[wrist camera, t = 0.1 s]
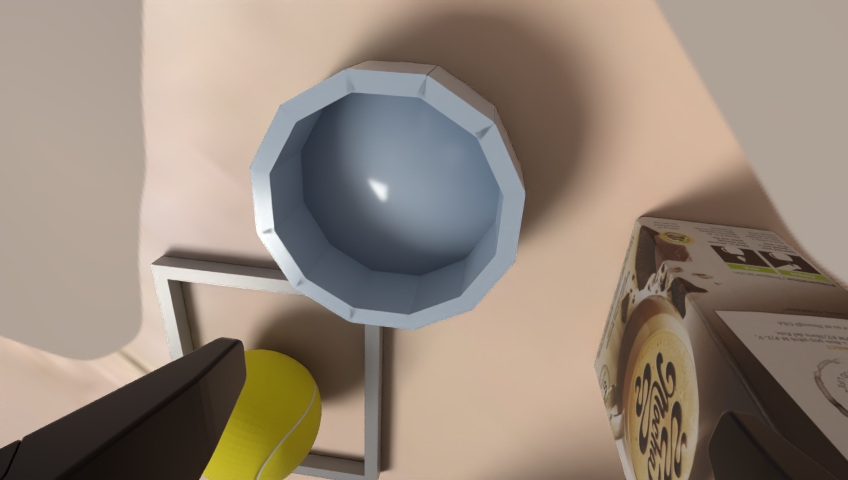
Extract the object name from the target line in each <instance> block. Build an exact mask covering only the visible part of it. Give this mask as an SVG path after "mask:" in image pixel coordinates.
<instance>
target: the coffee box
mask: <svg viewBox="0 0 848 480" xmlns="http://www.w3.org/2000/svg"><path fill="white" fill-rule="evenodd" d="M594 367H595V371H596V375H597V378H598V381H599V385H600V389H601V393H602V396H603V400H604V403H605V407H606V410H607V414H608V417H609V421H610V425H611V428H612V431H613V435H614V438H615V442H616V446H617V449H618V452H619V456H620V459H621V463H622V466H623V470H624V473H625V477H626V480H715V479H714V476H713V472H712V468H711V464H710V460H709V456H708V443H709V440H710V438H711V436H712V433H713V431H714V429H715V427H716V425H717V422H718V420H719V418H720V416H721V414H722V413H723V412H724V411H726V410H733V411H740V412H747V413H750V414H753V415H754V416H755V417H757V418H758V419H759V420H761V421H762V422H763V423H765V424H766V425H767V426H769V427H770V428H771V429H773V430H774V431H775V432H777V433H778V434H779V435H780V436H782V437H783V438H784V439H786V440H787V441H788V442H790V443H791V444H792V445H794V446H795V447H796V448H798V449H799V450H800V451H802V452H803V453H804V454H805V455H807V456H808V457H809V458H811V459H812V460H813V461H815V462H816V463H817V464H819V465H820V466H821V467H823V468H824V469H825V470H827V471H828V472H829V473H830V474H832V475H833V476H834V477H836V478H837V479H838V480H848V291H846V290H845V289H844V288H842V287H841V286H840V285H839V284H838V283H837V282H835V281H834V280H833V279H832V278H831V277H829V276H828V275H827V274H826V273H824V272H823V271H822V270H820V269H819V268H818V267H817V266H815V265H814V264H813V263H812V262H811V261H809V260H808V259H807V258H805V257H804V256H803V255H802V254H801V253H800V252H798V251H797V250H796V249H795V248H793V247H792V246H791V245H790V244H788V243H787V242H786V241H785V240H784V239H783V238H782V237H780V236H779V235H778V234H776V233H775V232H773V231H765V230H757V229H749V228H740V227H732V226H724V225H715V224H706V223H698V222H689V221H681V220H672V219H663V218H653V217H641V218H639V219H638V220H637V221H636V223H635V226H634V229H633V232H632V236H631V239H630V243H629V246H628V250H627V253H626V257H625V260H624V263H623V267H622V271H621V274H620V278H619V281H618V285H617V288H616V291H615V295H614V298H613V302H612V305H611V309H610V312H609V316H608V319H607V322H606V326H605V329H604V333H603V336H602V339H601V343H600V346H599V350H598V353H597V357H596V360H595V364H594Z"/></svg>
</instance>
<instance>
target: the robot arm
mask: <svg viewBox="0 0 848 480" xmlns="http://www.w3.org/2000/svg"><path fill="white" fill-rule="evenodd" d="M246 377H247V370H246V362H245V353H244V346H243V343H242V341H240V340H238V339H232V338H225V337H221V338H218V339H216V340H214V341H212V342H210V343H208V344H206V345H204V346H202V347H200V348H198V349H196V350H194V351H192V352H190V353H188V354H186V355H184V356H182V357H180V358H178V359H176V360H174V361H172V362H170V363H168V364H166V365H165V366H163V367H161V368H159V369H157V370H155V371H153V372H151V373H149V374H147V375H145V376H143V377H141V378H139V379H137V380H135V381H133V382H131V383H129V384H127V385H125V386H123V387H121V388H119V389H117V390H115V391H113V392H111V393H109V394H107V395H105V396H103V397H102V398H100V399H98V400H96V401H94V402H92V403H90V404H88V405H86V406H84V407H82V408H80V409H78V410H76V411H74V412H72V413H70V414H68V415H66V416H64V417H62V418H60V419H58V420H56V421H54V422H52V423H50V424H48V425H46V426H44V427H42V428H40V429H38V430H36V431H34V432H32V433H30V434H29V435H27V436H25V437H23V439H22V441H20V440H17V441H15V442H13V443H11V444H9V445H7V446H5V447H3V448H1V449H0V480H199V479H200V477H201V475H202V474H203V472H204V470H205V469H206V467H207V465H208V463H209V461H210V459H211V458H212V456H213V454H214V452H215V449H216V447H217V445H218V443H219V441H220V439H221V436H222V434H223V432H224V430H225V427H226V425H227V423H228V421H229V418H230V416H231V414H232V412H233V409H234V407H235V405H236V403H237V400H238V398H239V396H240V394H241V392H242V389H243V387H244V385H245V382H246ZM708 456H709V460H710V464H711V468H712V472H713V476H714V479H715V480H838V479H837V478H836V477H834V476H833V475H832V474H830V473H829V472H828V471H827V470H825V469H824V468H823V467H821V466H820V465H819V464H817V463H816V462H815V461H813V460H812V459H811V458H809V457H808V456H807V455H805V454H804V453H803V452H802V451H800V450H799V449H798V448H796V447H795V446H794V445H792V444H791V443H790V442H788V441H787V440H786V439H784V438H783V437H782V436H780V435H779V434H778V433H777V432H775V431H774V430H773V429H771V428H770V427H769V426H767V425H766V424H765V423H763V422H762V421H761V420H759V419H758V418H757V417H755V416H754V415H753V414H750V413H747V412H740V411H733V410H726V411H724V412H723V413H722V414H721V416H720V418H719V420H718V422H717V425H716V427H715V429H714V431H713V433H712V436H711V438H710V440H709V443H708Z"/></svg>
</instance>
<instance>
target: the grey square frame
mask: <svg viewBox="0 0 848 480" xmlns="http://www.w3.org/2000/svg"><path fill="white" fill-rule="evenodd" d="M151 269H152V273H153V278H154V282H155V287H156V291H157V296H158V301H159V305H160V310H161V314H162V319H163V323H164V328H165V332H166V337H167V341H168V346H169V350H170V355H171V359H172V361H174V360H176V359H178V358H180V357H182V356H184V355H186V354H188V353H190V352H192V351H194V350H193V345H192V340H191V335H190V329H189V324H188V319H187V314H186V309H185V304H184V298H183V293H182V288H181V283H180V281H187V282H196V283H204V284H212V285H220V286H229V287H237V288H245V289H253V290H262V291H270V292H278V293H286V294H295V295H303V296H306V295H304V294H303V293H301V292H299V291H298V290H296V289H294V288H295V287H294V288H293V286H292V285H291V283H290V282H289V280H288V279H287V277H286V276H285V274H284V273H283V271H282V270H277V269H269V268H260V267H252V266H243V265H234V264H226V263H217V262H209V261H200V260H192V259H183V258H174V257H166V256H162V257H160V258H159V259H157V260H156V261H155V262H153V263H152V264H151ZM382 355H383V326H377V325H369V324H365V462H359V461H352V460H346V459H339V458H333V457H326V456H320V455H313V454H307V456H306V457H305V459H304V460H303V461H302V463H301V464H300V465H299V466H298V467H297V468H296V469H295V470H294V471H293V472H292V473H295V474H302V475H308V476H314V477H320V478H327V479H333V480H378V479H379V475H380V448H381V402H382Z"/></svg>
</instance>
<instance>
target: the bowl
mask: <svg viewBox="0 0 848 480" xmlns="http://www.w3.org/2000/svg"><path fill="white" fill-rule="evenodd" d="M250 174H251V183H252V193H253V202H254V211H255V221H256V230H257V234H258V236H259V237H260V239H261V240H262V242H263V243H264V245H265V246H266V248H267V249H268V251H269V252H270V254H271V255H272V257H273V258H274V260H275V261H276V262H277V264H278V265H279V267H280V268H281V270H282V271H283V273H284V274H285V276H286V277H287V279H288V280H289V282H290V283H291V285H292V286H293V288H294V287H295V288H294V289H296V290H298V291H299V292H301V293H303V294H304V295H306V296H307V297H309V298H311V299H312V300H314V301H316V302H317V303H319V304H321V305H322V306H324V307H326V308H327V309H329V310H330V311H332V312H334V313H335V314H337V315H339V316H340V317H342V318H344V319H345V320H347V321H350V322H353V323H361V324H369V325H377V326H385V327H393V328H401V329H409V330H415V329H418V328H421V327H423V326H426V325H429V324H432V323H435V322H438V321H441V320H444V319H447V318H450V317H453V316H456V315H458V314H461V313H464V312H467V311H470V310H472V309H474V308H475V306H476V305H477V304H478V303H479V302H480V301H481V300H482V299H483V297H484V296H485V295H486V294H487V293H488V292H489V291H490V289H491V288H492V287H493V286H494V285H495V284H496V283H497V282H498V280H499V279H500V278H501V277H502V276H503V275H504V274H505V272H506V271H507V270H508V269H509V268H510V267H511V266H512V265H513V263H514V262H515V259H516V253H517V246H518V240H519V233H520V227H521V221H522V214H523V208H524V201H525V195H526V193H525V187H524V181H523V176H522V170H521V166H520V163H519V161H518V159H517V156H516V154H515V152H514V149H513V147H512V145H511V142H510V139H509V136H508V134H507V132H506V130H505V128H504V126H503V124H502V122H501V119H500V117H499V115H498V112H497V110H496V108H495V107H494V105H493V104H491V103H490V102H488V101H487V100H486V99H484V98H483V97H482V96H481V95H480V94H478V93H477V92H476V91H475V90H473V89H472V88H471V87H470V86H469V85H467V84H466V83H464V82H463V81H461V80H459V79H458V78H456V77H455V76H453V75H451V74H449V73H448V72H447V71H445V70H444V69H442V68H441V67H440V66H437V65H429V64H418V63H411V62H387V61H373V60H368V61H365V62H363V63H360V64H357V65H354V66H352V67H349V68H346V69H344V70H342V71H341V72H339V73H337V74H335V75H333V76H332V77H330V78H328V79H326V80H324V81H323V82H321V83H319V84H317V85H315V86H314V87H312V88H310V89H308V90H306V91H305V92H303V93H301V94H299V95H297V96H296V97H294V98H292V99H290V100H288V101H287V102H285V103H283V104H281V105H280V106H279V108H278V110H277V112H276V115H275V117H274V119H273V121H272V123H271V125H270V127H269V129H268V131H267V133H266V135H265V137H264V139H263V141H262V143H261V145H260V147H259V149H258V151H257V153H256V155H255V157H254V159H253V161H252V163H251V165H250Z"/></svg>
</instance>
